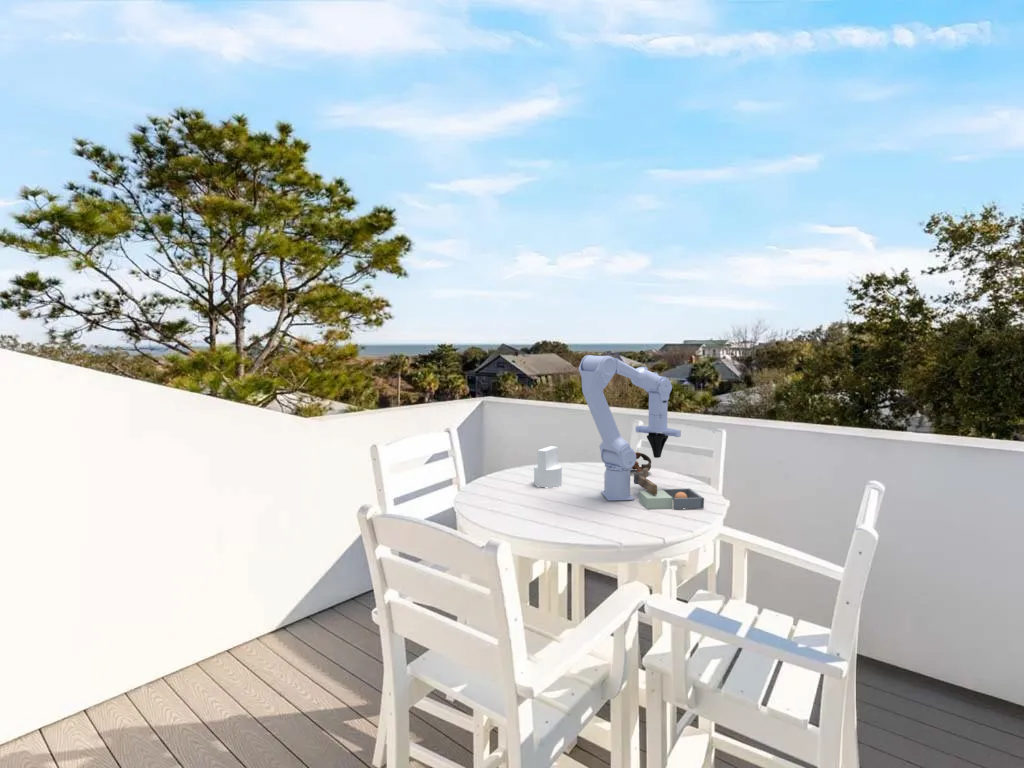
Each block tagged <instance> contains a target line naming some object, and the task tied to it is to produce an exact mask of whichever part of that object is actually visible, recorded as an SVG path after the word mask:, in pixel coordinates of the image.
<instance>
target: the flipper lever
mask: <svg viewBox="0 0 1024 768" xmlns="http://www.w3.org/2000/svg"><path fill="white" fill-rule="evenodd" d="M647 477H649V471H648V468H644V469H643V470H641V471H640V472H639V473H635V472H633V484H634V485H638V486H640V487H641V488H642V489H644V490H645V491H649V492H650V493H651V494H653V495H656V494H657V491H658V485H657V484H656V483H654V482H653V481H651V480H649V479H648V478H647Z"/></svg>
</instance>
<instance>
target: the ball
mask: <svg viewBox="0 0 1024 768" xmlns="http://www.w3.org/2000/svg"><path fill="white" fill-rule="evenodd" d="M675 498H688V497H687V495H686V494H685V493H684V492H678V493H677V494H676V495H675Z"/></svg>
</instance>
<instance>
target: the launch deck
mask: <svg viewBox="0 0 1024 768" xmlns="http://www.w3.org/2000/svg"><path fill="white" fill-rule="evenodd" d="M638 495H639V496H638V501H639V502H640V503H641V504H642V505H643V506H644V507H645V509H647V510H655V509H657V510H658V508H662V509H673V498H672V497H671V496H670V495H669V494H667V493H666V492H665V491H664V490H662V489H661V490H659V489H657V494H656V495H653V494H651V493H650V492H649V491H647V490H639V491H638Z"/></svg>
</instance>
